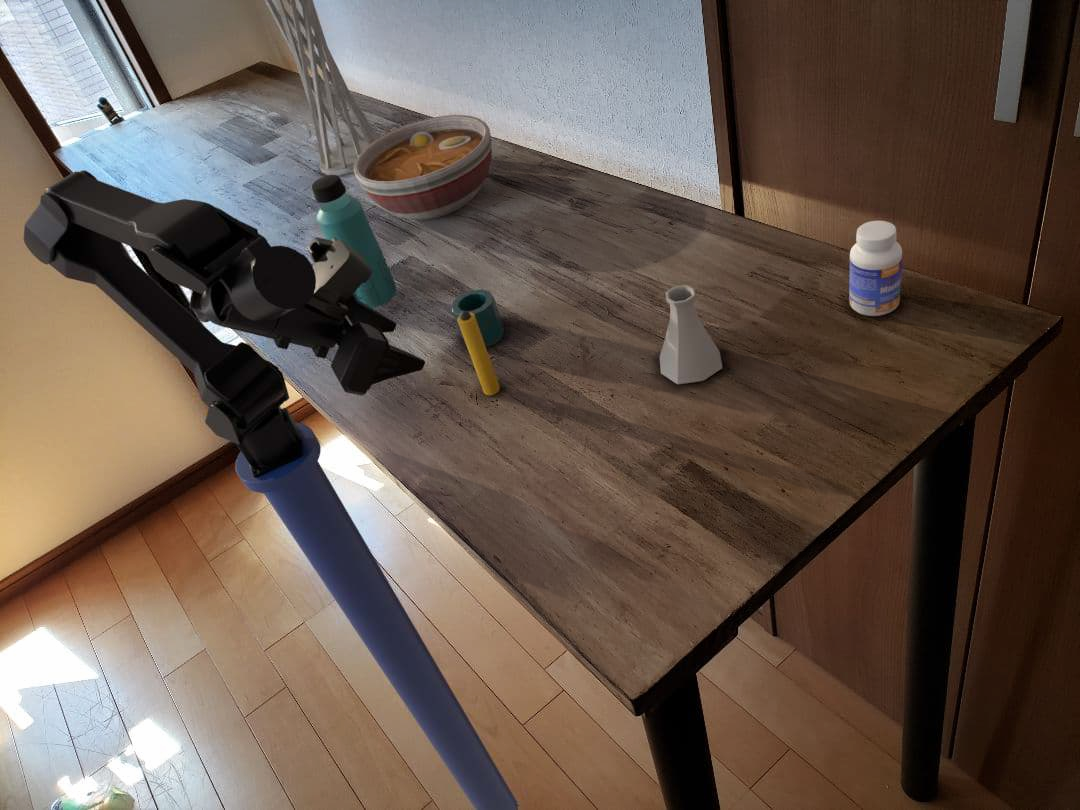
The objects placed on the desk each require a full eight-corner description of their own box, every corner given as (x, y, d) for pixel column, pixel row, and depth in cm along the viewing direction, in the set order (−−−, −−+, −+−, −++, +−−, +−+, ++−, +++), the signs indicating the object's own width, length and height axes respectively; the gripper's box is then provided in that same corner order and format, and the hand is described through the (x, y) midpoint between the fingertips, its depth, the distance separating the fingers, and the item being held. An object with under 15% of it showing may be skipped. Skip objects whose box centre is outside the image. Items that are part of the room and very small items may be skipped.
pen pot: (472, 354, 107) (459, 320, 104) (458, 334, 111) (446, 300, 108) (509, 337, 108) (498, 303, 104) (495, 317, 112) (484, 284, 108)
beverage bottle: (410, 293, 122) (359, 168, 109) (381, 321, 118) (325, 195, 105) (377, 287, 125) (324, 165, 112) (349, 314, 121) (291, 191, 108)
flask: (673, 393, 93) (661, 322, 87) (649, 357, 99) (636, 288, 92) (733, 371, 93) (726, 299, 87) (706, 336, 99) (697, 266, 92)
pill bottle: (886, 322, 94) (890, 248, 87) (840, 310, 97) (841, 238, 91) (907, 295, 96) (912, 221, 90) (862, 285, 99) (863, 213, 93)
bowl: (465, 155, 153) (449, 103, 146) (530, 191, 136) (515, 134, 130) (354, 211, 146) (332, 158, 140) (409, 255, 130) (386, 198, 124)
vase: (393, 136, 167) (324, -53, 144) (377, 168, 157) (300, -30, 135) (331, 148, 170) (254, -36, 148) (311, 180, 161) (226, -12, 138)
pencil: (487, 398, 100) (458, 319, 92) (481, 389, 102) (452, 311, 94) (502, 391, 100) (474, 312, 93) (496, 382, 102) (469, 304, 94)
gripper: (327, 273, 74) (473, 318, 83) (279, 203, 87) (408, 248, 97) (283, 381, 77) (427, 412, 87) (243, 297, 91) (371, 332, 100)
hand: (408, 345), depth 92 cm, fingers open, 9 cm apart
